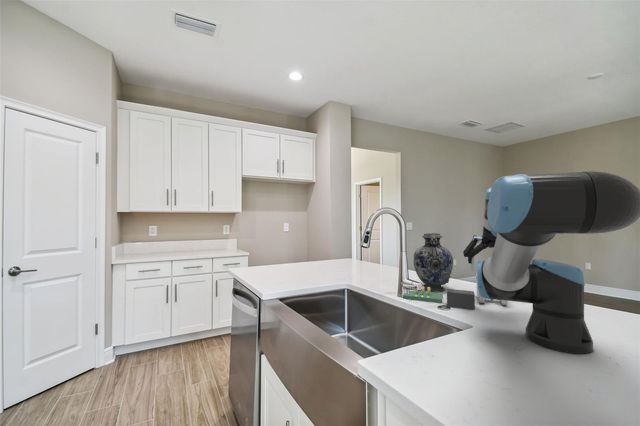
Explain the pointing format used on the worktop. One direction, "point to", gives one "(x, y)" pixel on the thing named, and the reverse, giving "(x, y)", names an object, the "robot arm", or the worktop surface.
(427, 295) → the header board
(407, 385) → the worktop surface
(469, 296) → the plug housing
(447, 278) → the decorative vase
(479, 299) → the cable organizer
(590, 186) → the robot arm
